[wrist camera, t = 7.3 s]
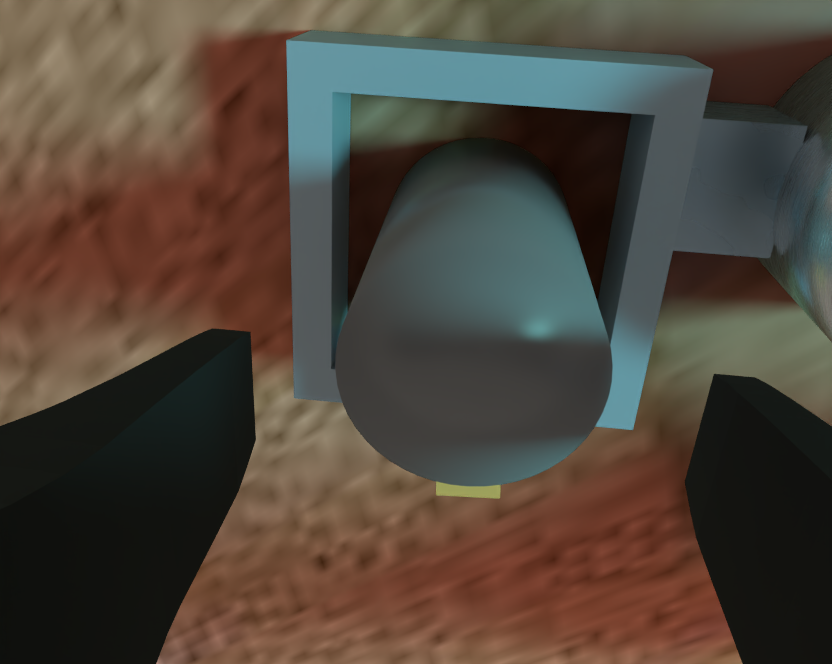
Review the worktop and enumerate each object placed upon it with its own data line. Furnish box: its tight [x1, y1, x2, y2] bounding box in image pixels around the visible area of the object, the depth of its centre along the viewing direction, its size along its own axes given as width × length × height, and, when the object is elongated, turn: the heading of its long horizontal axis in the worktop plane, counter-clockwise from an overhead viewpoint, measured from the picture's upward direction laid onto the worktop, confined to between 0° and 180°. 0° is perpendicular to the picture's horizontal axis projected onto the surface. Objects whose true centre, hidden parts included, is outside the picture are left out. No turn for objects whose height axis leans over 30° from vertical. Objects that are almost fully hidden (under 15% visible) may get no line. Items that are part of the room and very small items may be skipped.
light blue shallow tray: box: [286, 30, 713, 430], centre depth 19 cm, size 9×9×2 cm
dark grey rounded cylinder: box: [335, 138, 613, 499], centre depth 17 cm, size 5×6×8 cm
